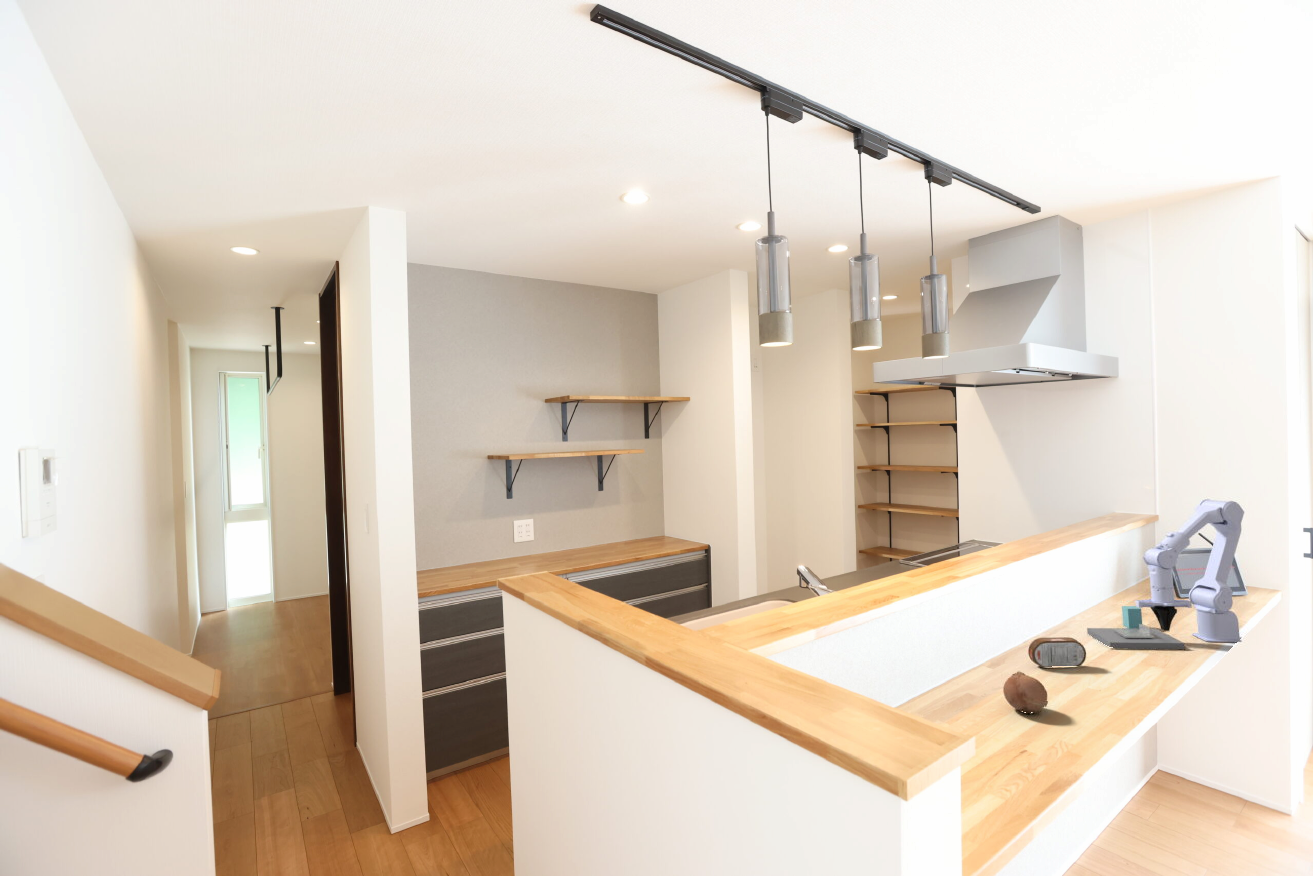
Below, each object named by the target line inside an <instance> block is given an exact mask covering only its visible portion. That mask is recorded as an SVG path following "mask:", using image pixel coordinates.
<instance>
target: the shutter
mask: <svg viewBox="0 0 1313 876" xmlns="http://www.w3.org/2000/svg"><path fill="white" fill-rule="evenodd" d="M1139 628H1140V629H1113V631H1114V632H1116V633H1118V634H1120V635H1121V636H1123V637H1125V638H1139V639H1141V638H1154V636H1153V634H1152V629H1153V628H1150V627H1149V626H1147V625H1145V624H1143V623H1142V624H1139Z"/></svg>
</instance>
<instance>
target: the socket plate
mask: <svg viewBox="0 0 1313 876" xmlns="http://www.w3.org/2000/svg"><path fill="white" fill-rule="evenodd" d="M1113 629H1140V628H1125V627H1123V628H1118V627H1117V628H1114V627H1113V628H1112V627H1111V628H1110V627H1109V628H1107V627H1105V628H1103V627H1101V628H1100V627H1092V628H1091V627H1087V631H1086V633H1087V635H1088V634H1089V635H1088V636H1090V635H1091V636H1092V637H1091V636H1090V637H1091V638H1093V639H1094V638H1095V639H1094V640H1096V639H1097V640H1098V642H1099V641H1100V642H1099V643H1101V642H1102V643H1103V644H1102V643H1101V644H1102V645H1104V644H1105V645H1107V646H1109V647H1113V648H1128V649H1127V650H1160V649H1185V650H1186V648H1185V642H1183V641H1181V640H1179V639H1177V638H1175V637H1174V636H1171V635H1169V634H1167V633H1165V632H1163V631H1161V630H1159V629H1158V628H1151V629H1152V634H1153V636H1154V638H1125V637H1123V636H1121V635H1120V634H1118V633H1116V632H1114V631H1113ZM1097 640H1096V641H1097ZM1105 645H1104V646H1105ZM1107 646H1106V647H1107Z"/></svg>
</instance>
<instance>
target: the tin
mask: <svg viewBox="0 0 1313 876" xmlns="http://www.w3.org/2000/svg"><path fill="white" fill-rule="evenodd" d="M1027 652H1028V653H1027V654H1028V657H1029V658H1030V660H1031V661H1032V662H1033V663H1034V664H1035V665H1037V666H1038V667H1040V668H1043V667H1052V666H1079V667H1080V666H1082V665H1083V664H1084V663H1085V661H1086V659H1087V650H1086V648H1085V647H1084V645H1083V644H1082V643H1081V642H1079V641H1078V640H1077V639H1076V638H1073V637H1070V636H1069V637H1038V638H1036V639H1034V640H1033V641H1032V642H1031V643H1030V644H1029V646H1028V651H1027Z"/></svg>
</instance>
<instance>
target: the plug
mask: <svg viewBox="0 0 1313 876" xmlns="http://www.w3.org/2000/svg"><path fill="white" fill-rule="evenodd" d="M1121 612H1122V613H1121V614H1122V622H1123V623H1122V625H1123V627H1124V626H1125V627H1127V628H1139V624H1143V616H1142V608H1139V607H1137V606H1136V605H1121ZM1125 627H1124V628H1125Z"/></svg>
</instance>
